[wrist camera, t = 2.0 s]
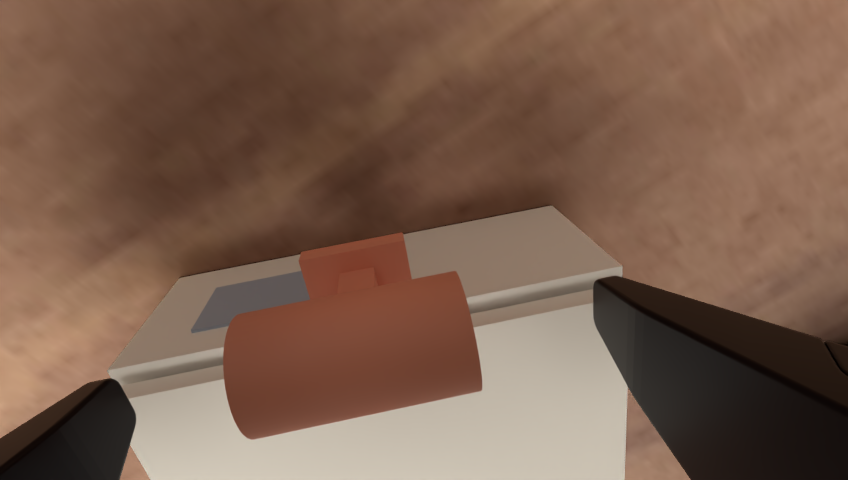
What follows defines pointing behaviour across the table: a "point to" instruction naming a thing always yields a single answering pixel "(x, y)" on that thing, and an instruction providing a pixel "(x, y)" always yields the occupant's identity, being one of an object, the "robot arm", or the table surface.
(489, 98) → the table surface
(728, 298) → the table surface
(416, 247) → the carton
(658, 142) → the table surface
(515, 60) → the table surface
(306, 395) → the flap
